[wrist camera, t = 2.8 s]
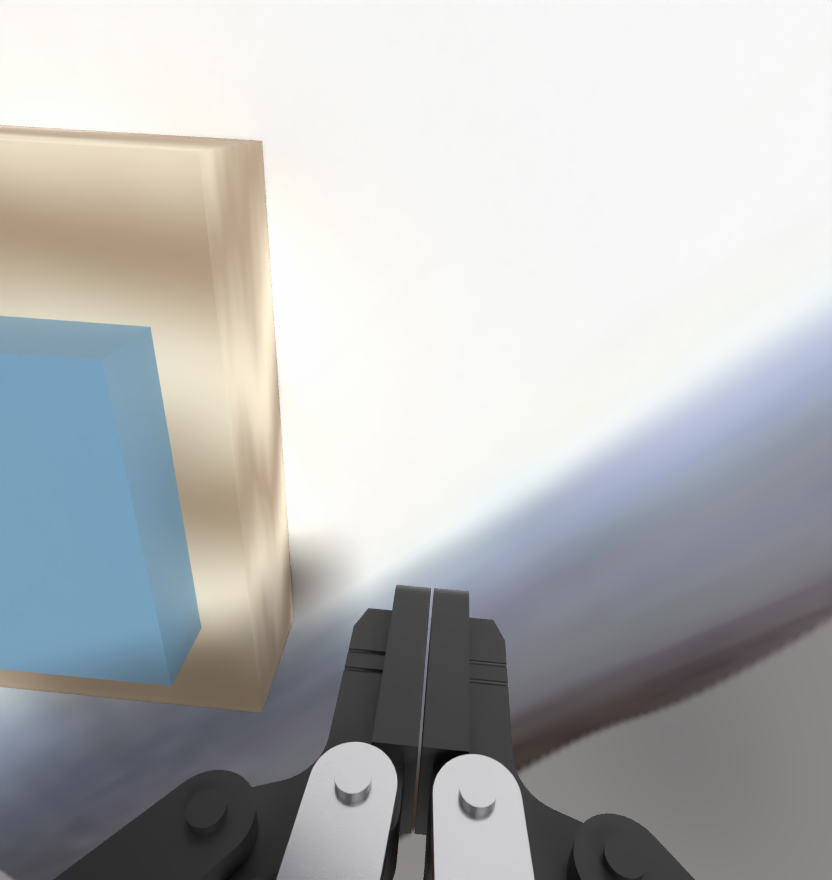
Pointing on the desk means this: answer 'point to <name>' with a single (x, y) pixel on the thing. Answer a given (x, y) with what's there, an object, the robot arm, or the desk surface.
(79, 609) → the blue flat block
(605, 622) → the desk surface
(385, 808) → the robot arm
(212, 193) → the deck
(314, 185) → the desk surface
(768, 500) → the desk surface
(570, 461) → the desk surface
